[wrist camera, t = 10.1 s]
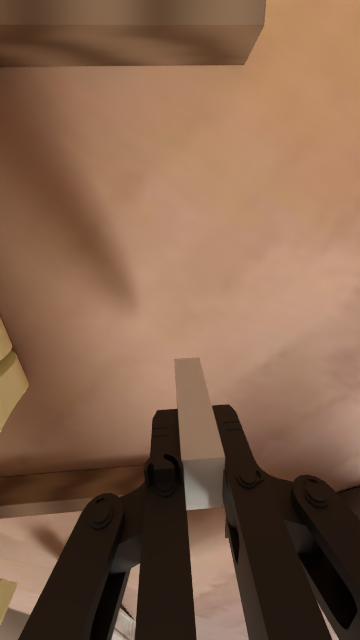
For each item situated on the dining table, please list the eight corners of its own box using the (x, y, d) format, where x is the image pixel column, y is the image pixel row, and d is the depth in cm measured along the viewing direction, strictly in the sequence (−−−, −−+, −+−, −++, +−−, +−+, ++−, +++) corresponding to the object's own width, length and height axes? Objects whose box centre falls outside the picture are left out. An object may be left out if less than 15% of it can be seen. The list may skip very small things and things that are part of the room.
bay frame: (246, 17, 13) (291, -96, 8) (222, 469, 28) (234, 518, 23) (-458, 15, 11) (-878, -126, 7) (-89, 497, 26) (-143, 555, 21)
